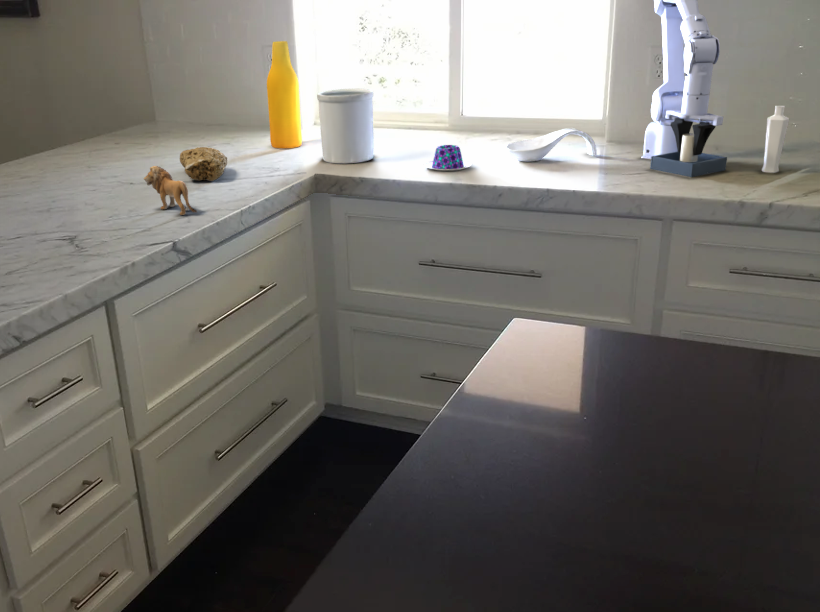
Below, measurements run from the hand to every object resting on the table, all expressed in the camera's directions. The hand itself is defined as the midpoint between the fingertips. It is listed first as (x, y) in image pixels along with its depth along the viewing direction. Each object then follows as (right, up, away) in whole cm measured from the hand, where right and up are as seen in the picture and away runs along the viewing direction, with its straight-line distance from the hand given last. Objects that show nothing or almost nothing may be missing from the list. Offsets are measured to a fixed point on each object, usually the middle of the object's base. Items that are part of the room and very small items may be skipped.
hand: (689, 153), depth 204 cm
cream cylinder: (0, -2, +1) cm, 2 cm away
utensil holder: (-81, +5, +30) cm, 86 cm away
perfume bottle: (+18, -5, -3) cm, 19 cm away
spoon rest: (-28, +3, +21) cm, 35 cm away
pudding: (-55, -1, +15) cm, 57 cm away
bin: (0, -4, +2) cm, 4 cm away
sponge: (-118, -2, +17) cm, 119 cm away
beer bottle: (-99, +13, +51) cm, 112 cm away
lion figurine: (-118, -16, -16) cm, 121 cm away
